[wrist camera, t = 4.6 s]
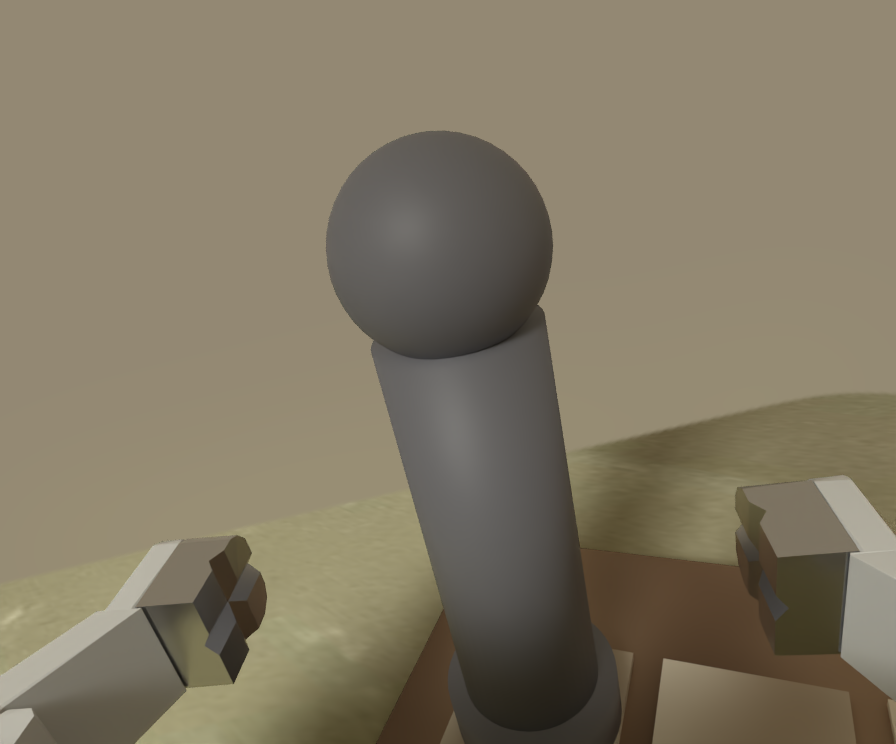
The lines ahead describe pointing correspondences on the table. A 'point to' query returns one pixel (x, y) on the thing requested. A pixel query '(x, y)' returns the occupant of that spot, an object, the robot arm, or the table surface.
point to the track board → (681, 667)
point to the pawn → (478, 426)
